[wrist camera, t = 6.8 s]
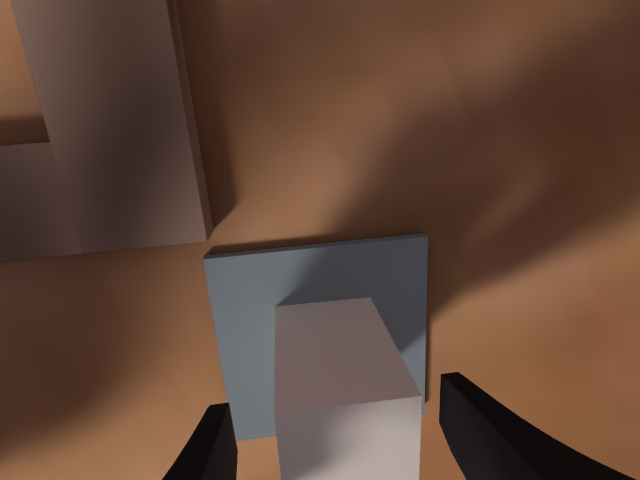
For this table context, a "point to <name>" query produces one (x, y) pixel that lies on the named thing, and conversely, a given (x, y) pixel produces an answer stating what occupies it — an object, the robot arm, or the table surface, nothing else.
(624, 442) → the table surface
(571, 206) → the table surface
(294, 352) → the cream block
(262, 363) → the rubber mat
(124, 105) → the puzzle board
